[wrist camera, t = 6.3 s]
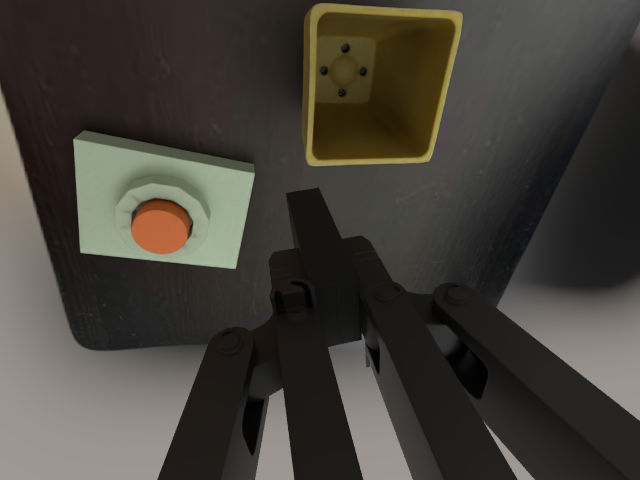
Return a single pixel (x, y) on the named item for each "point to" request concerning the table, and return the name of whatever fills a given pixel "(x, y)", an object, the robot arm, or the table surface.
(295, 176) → the table surface
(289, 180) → the table surface
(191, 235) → the green button base
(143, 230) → the round orange button
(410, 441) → the robot arm
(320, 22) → the flower pot
